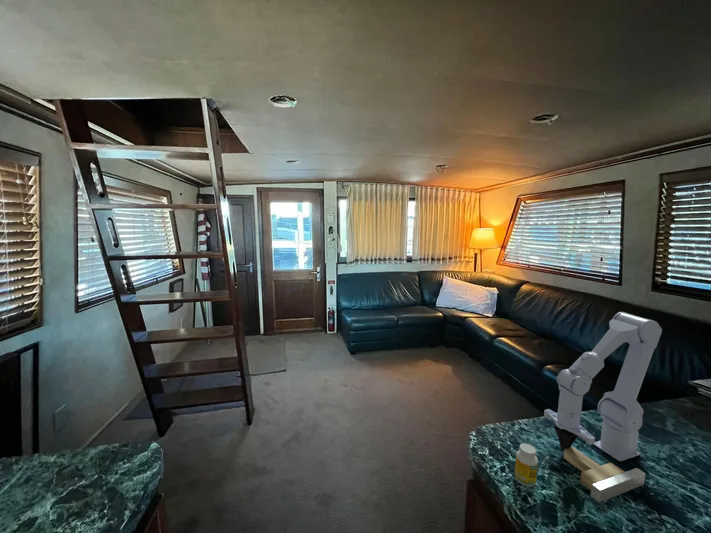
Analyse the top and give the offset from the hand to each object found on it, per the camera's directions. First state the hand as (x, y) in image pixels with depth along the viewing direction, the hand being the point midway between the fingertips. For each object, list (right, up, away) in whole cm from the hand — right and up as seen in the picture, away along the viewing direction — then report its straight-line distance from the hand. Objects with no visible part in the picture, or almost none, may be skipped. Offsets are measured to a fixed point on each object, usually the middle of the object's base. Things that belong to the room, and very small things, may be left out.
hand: (564, 450), depth 95 cm
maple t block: (+2, -2, -6) cm, 7 cm away
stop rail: (+5, -3, -13) cm, 14 cm away
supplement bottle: (-18, -3, -10) cm, 20 cm away
